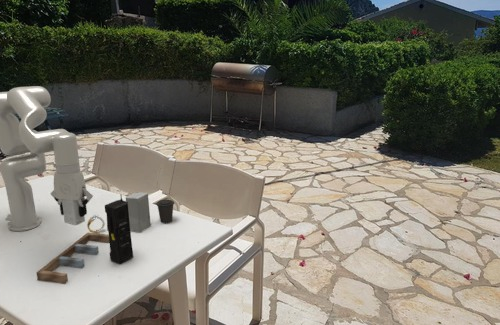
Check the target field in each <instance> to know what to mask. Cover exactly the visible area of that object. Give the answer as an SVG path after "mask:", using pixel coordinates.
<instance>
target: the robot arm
mask: <svg viewBox="0 0 500 325" xmlns="http://www.w3.org/2000/svg"><path fill="white" fill-rule="evenodd" d="M51 102H52V98H51V94H50V93H49V90H48V89H46V88H45V87H43V86H41V85H40V86H39V85H37V86H36V85H33V86H18V87H12V88H11V89H9V91H1V92H0V152H1V153H2V154H3V155H6V156H14V155H19V156H14V157H9V158H6V159H4V160H2V161H1V162H0V175H1V177H2V180H3V183H4V187H5V192H6V196H7V200H8V207H9V208H8V209H9V212H10V214H7V215H6V217H5V219H4V220H5V221H9V224H8V229H9V230H10V231H13V232H24V231H29V230H32V229H35V228H37V227H39V226H40V225H41V224H42V219H41V218H40V217H37V212H36V205H35V200H34V193H33V188H32V185H31V184H30V182H28V181H26V180H25V178H30V177H32V176H33V177H34V176H38V175H41V174H44V173H45V172H46V170H47V161H46V154H47V153H50V152H53V156H54V162H55V163H54V164H53V165H52V166H53V168H55V172H54V173H53V174H54V175H53V190H52V191H51V192H50V195H51V197H52V198H54V200H55V201H56V202H57V205H58V206H59V209H60V210H59V211H60V215H61V216H64V213H63V206H62V200H73V201H78V203H79V205H80V207H79V213H80V217H83V216H84V217H85V216H86V215H87V212H88V211H87V204H89V202H90V201H91V200H92V199H93V197H94V195H93V194H92V193H90V191H88V190H87V186H86V181H85V178H84V174H83V172H82V171H83V170H81V168H80V167H81V166H80V157H79V149H78V140H77V136H76V134H75V133H73V132H69V131H67V129H64V128H57V129H49V130H41V131H37V130H35V128H37V127H38V126H40V125H41V124H43V123H44V122H45V121H46V119H47V116H48V115H47V114H48V113H47V110H46V109H45V108H48V107H49V106H50V104H51ZM15 113H16V114H17V115H18V117H19V118H20V119H21V120H19V118H18V117H17V116H16V115H15ZM25 153H30V154H25ZM20 154H25V155H20ZM81 199H82V201H83V202H82V201H81Z"/></svg>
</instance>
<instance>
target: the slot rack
mask: <svg viewBox="0 0 500 325" xmlns="http://www.w3.org/2000/svg"><path fill="white" fill-rule="evenodd" d="M89 242H96V243H104V244H105V243H106V244H110V243H109V234H105V233H93V232H86V233H84V235H82V237H80V238H79V239H77V240H76V241H75V242H74V243H72V244H71V245H70V246H68V247H67V248H66V249H64V250H63V251H62V252H61V253H59V254H58V255H57V256H55V257H54V258H52V260H50V261H49V262H48V263H47V264H46V265H44V266H43V267H42V268H40V269H39V270H37V271H36V278H37V281H41V282H50V283H51V282H52V283H58V284H64V285H65V284H67V283H68V281H69V279H68V277H69V276H68V273H66V272H57V271H56V269H58V268H59V267H67V268H76V269H83V268H84V267H85V260H84V258H81V257H80V258H79V257H72V256H73V255H75V254H86V255H94V256H97V255H99V253H100V252H99V246H98V245H90V244H88V243H89Z"/></svg>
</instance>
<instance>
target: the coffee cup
mask: <svg viewBox="0 0 500 325" xmlns="http://www.w3.org/2000/svg"><path fill="white" fill-rule="evenodd" d="M174 204H175V202H174V200H172V199H161V200H158V201H157V202H156V206H157V209H158V215H159V221H160V223H161V224H170V223H172V222H173V213H174Z"/></svg>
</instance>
